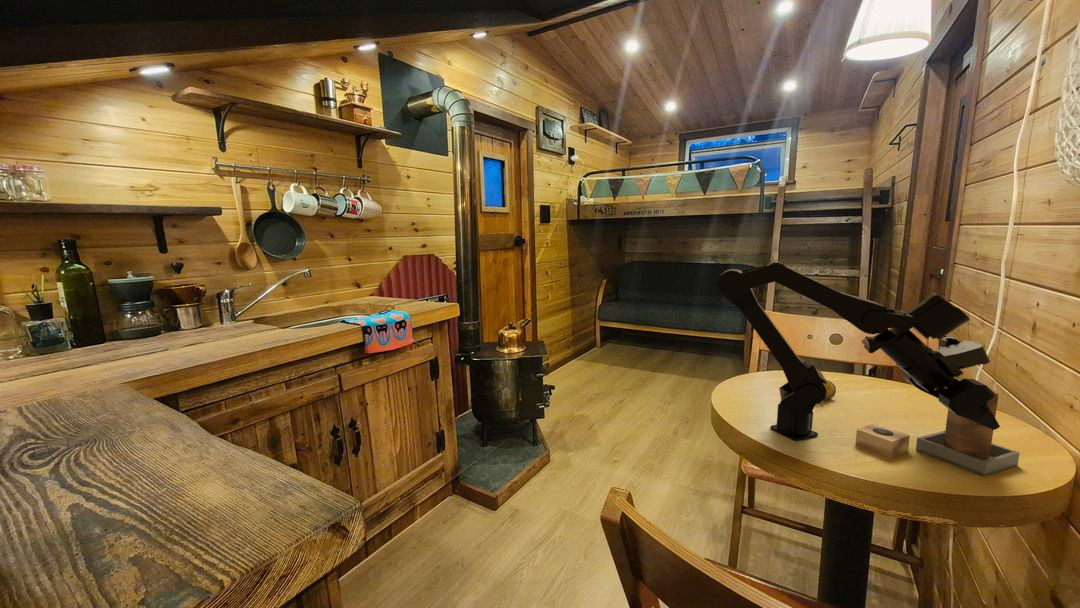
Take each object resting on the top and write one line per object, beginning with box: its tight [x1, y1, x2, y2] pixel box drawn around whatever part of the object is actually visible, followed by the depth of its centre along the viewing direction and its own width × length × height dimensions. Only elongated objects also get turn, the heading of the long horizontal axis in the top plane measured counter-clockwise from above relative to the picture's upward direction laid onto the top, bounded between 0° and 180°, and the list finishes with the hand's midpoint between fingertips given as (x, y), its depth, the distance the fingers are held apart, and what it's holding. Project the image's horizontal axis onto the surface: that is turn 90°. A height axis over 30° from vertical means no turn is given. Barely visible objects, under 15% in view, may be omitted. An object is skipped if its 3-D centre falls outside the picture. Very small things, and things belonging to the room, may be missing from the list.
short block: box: [855, 422, 911, 459], centre depth 81 cm, size 6×6×4 cm
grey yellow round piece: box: [823, 378, 837, 401], centre depth 106 cm, size 5×5×10 cm
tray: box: [915, 430, 1020, 477], centre depth 77 cm, size 10×10×2 cm
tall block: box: [943, 383, 999, 461], centre depth 76 cm, size 4×4×13 cm
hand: (980, 417), depth 75 cm, fingers open, 9 cm apart
